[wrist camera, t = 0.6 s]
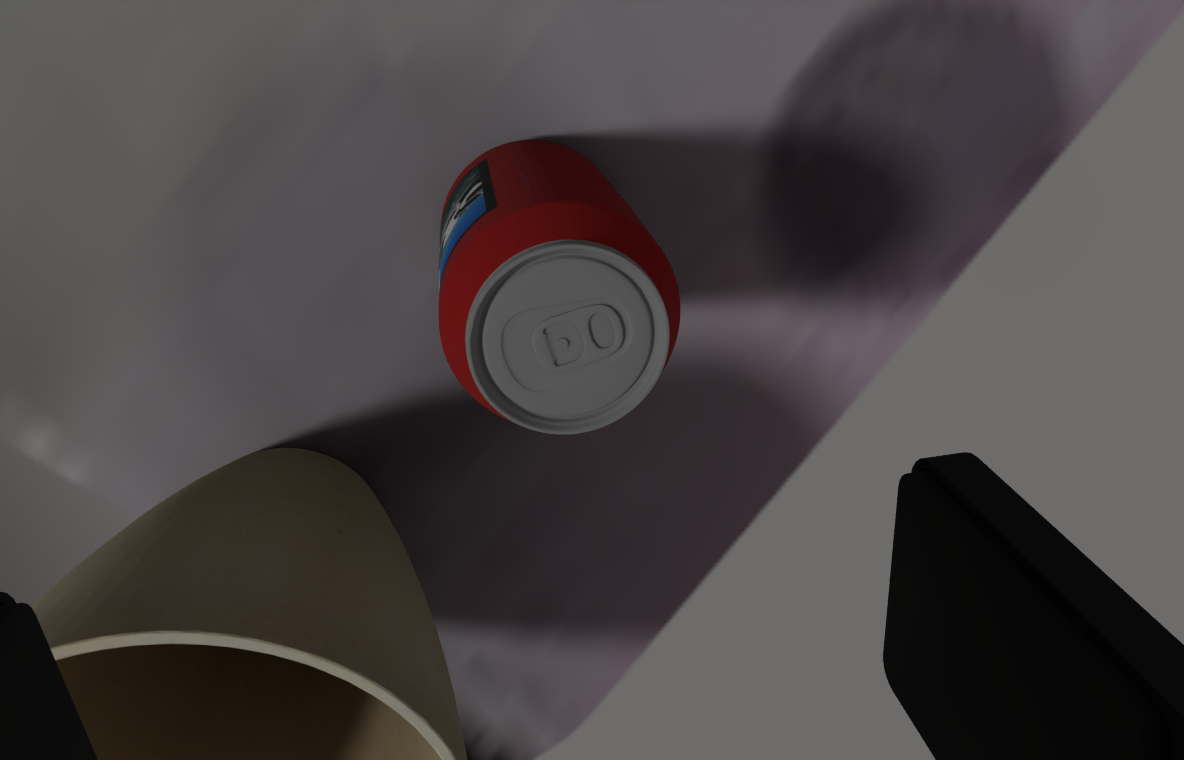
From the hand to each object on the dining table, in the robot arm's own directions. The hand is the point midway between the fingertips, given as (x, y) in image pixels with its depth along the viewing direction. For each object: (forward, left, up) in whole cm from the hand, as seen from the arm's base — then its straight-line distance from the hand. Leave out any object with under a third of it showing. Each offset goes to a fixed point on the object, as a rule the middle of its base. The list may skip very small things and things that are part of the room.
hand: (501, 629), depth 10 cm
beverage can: (+3, 0, -26) cm, 26 cm away
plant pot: (+6, -16, -26) cm, 30 cm away
